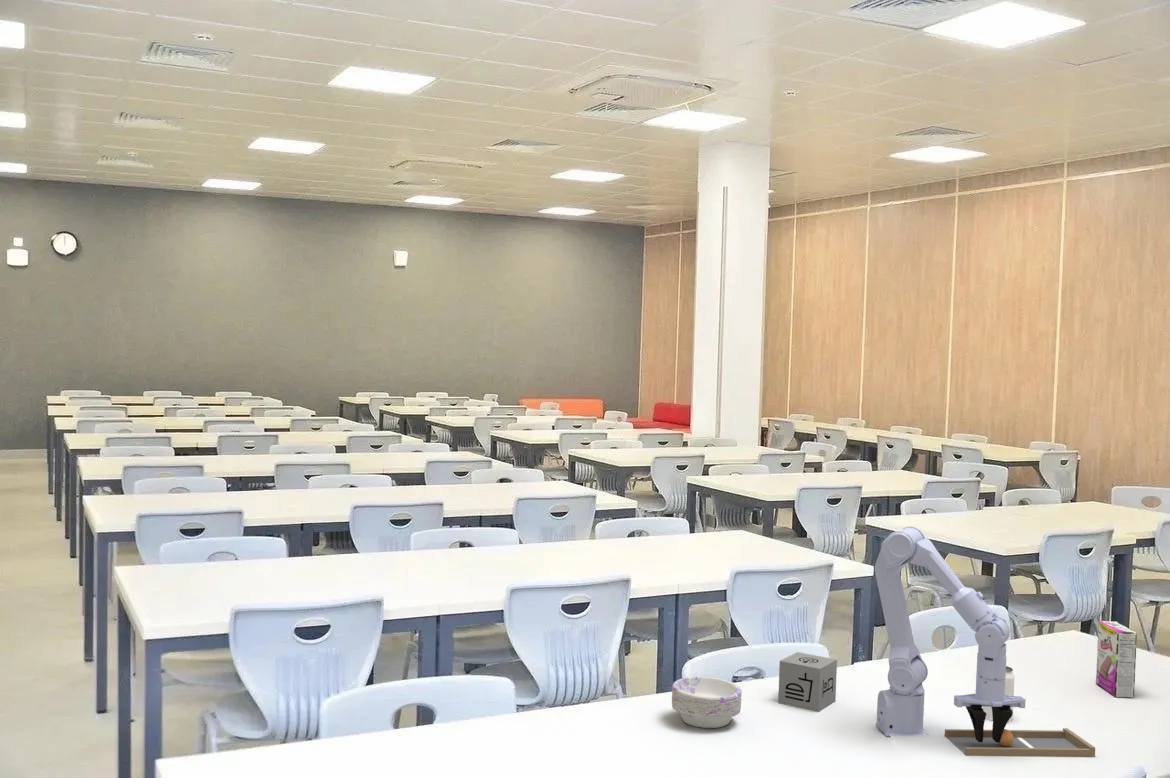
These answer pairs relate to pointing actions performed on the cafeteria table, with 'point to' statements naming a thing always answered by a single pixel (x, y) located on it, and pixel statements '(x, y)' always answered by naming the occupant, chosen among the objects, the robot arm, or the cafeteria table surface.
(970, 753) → the lane
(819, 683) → the icon cube
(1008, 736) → the ball
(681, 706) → the paper bowls
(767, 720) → the cafeteria table surface
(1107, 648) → the candy bar box
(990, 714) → the can
